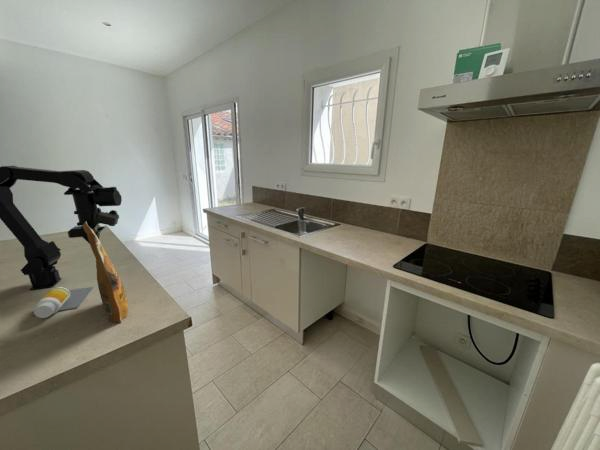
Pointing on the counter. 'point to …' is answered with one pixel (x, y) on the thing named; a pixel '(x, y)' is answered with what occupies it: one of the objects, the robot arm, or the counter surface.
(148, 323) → the counter surface
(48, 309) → the supplement bottle
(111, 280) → the pancake mix bag
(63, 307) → the mat
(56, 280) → the robot arm
